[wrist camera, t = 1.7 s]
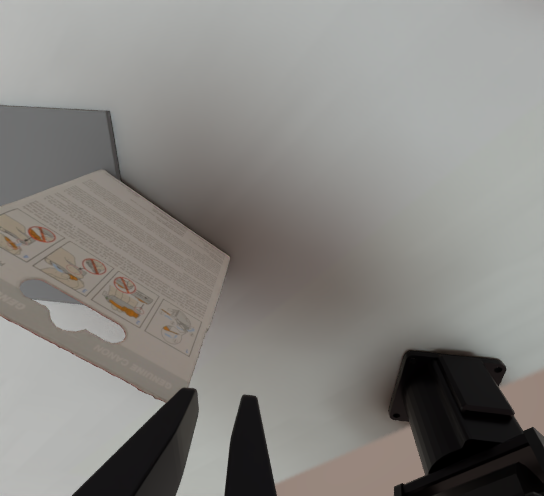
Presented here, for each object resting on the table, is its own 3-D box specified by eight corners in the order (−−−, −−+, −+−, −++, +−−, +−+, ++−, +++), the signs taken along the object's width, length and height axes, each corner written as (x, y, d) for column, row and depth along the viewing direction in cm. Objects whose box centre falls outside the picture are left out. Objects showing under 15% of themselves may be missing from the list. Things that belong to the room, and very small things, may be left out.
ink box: (213, 282, 22) (146, 455, 11) (85, 199, 20) (-141, 319, 9) (238, 253, 21) (188, 413, 10) (105, 161, 19) (-125, 248, 8)
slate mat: (141, 307, 23) (138, 310, 23) (11, 293, 24) (7, 296, 24) (109, 111, 18) (105, 111, 17) (-59, 102, 19) (-66, 102, 18)
